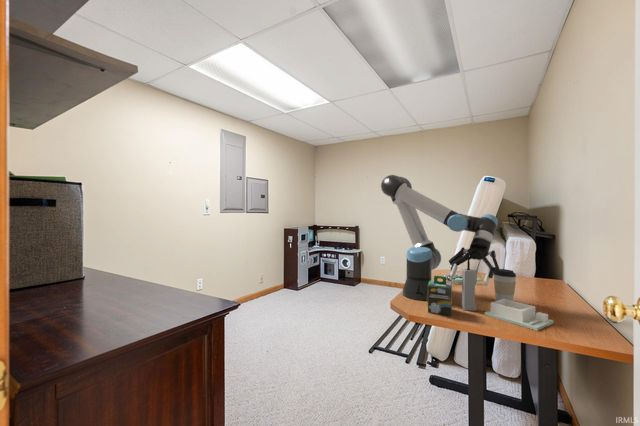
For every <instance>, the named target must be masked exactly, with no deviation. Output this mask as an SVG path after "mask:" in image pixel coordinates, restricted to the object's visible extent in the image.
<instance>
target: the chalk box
mask: <svg viewBox="0 0 640 426" xmlns="http://www.w3.org/2000/svg"><path fill="white" fill-rule="evenodd" d="M438 279H441V280H442V281H440V280H439V281H438ZM452 286H453V285H452V282H451V281H447V277H446V276H445V275H444V276H443V275H442V276H441V275H434V276H433V280H431V281H429V284H428V300H427V313H432V314H437V315H445V316H449V317H450V316H453V315H452V314H453V308H452V307H453V305H452V304H453V290H452V289H453V287H452Z"/></svg>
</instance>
